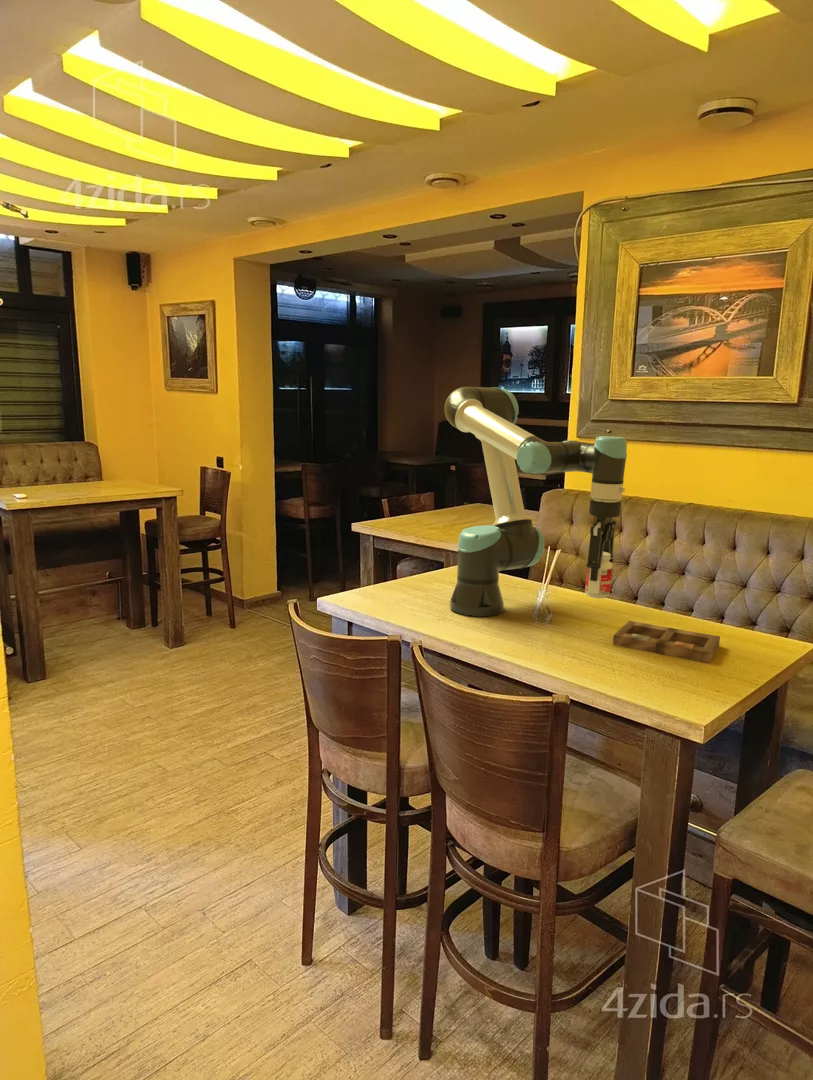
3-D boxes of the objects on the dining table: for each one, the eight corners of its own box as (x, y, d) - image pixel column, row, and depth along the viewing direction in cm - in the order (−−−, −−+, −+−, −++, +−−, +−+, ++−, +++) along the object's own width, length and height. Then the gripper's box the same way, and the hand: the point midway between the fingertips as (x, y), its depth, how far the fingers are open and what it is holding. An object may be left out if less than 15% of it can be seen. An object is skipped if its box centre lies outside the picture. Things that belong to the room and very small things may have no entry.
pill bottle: (593, 599, 174) (596, 556, 172) (580, 592, 180) (583, 550, 178) (614, 598, 176) (618, 555, 174) (601, 591, 182) (605, 549, 179)
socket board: (613, 644, 171) (613, 633, 171) (628, 629, 183) (629, 619, 182) (709, 663, 160) (710, 651, 159) (719, 646, 172) (720, 634, 171)
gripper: (609, 506, 163) (601, 601, 168) (631, 497, 179) (622, 584, 184) (578, 502, 167) (570, 595, 172) (602, 493, 183) (594, 579, 188)
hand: (597, 589), depth 178 cm, fingers closed on pill bottle, 6 cm apart
